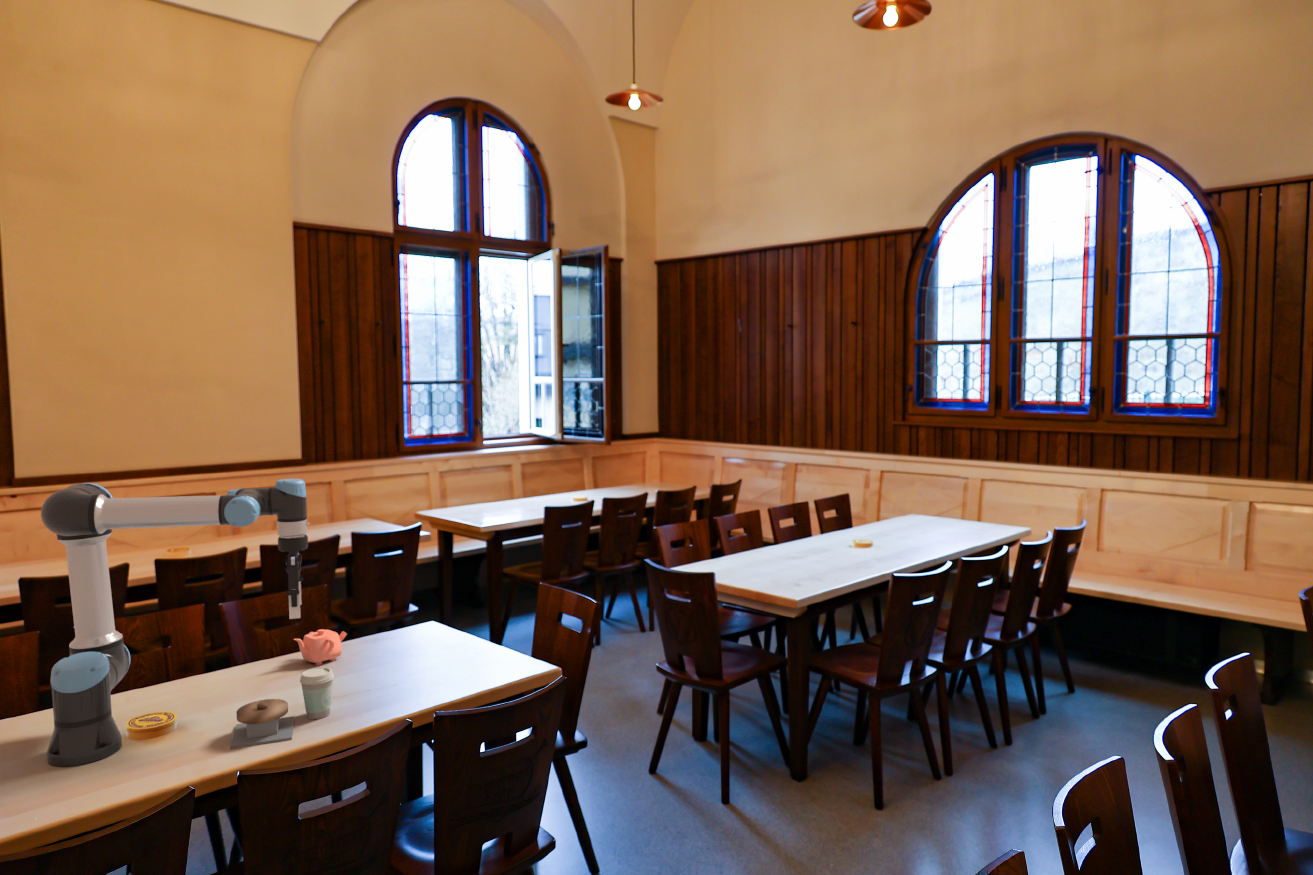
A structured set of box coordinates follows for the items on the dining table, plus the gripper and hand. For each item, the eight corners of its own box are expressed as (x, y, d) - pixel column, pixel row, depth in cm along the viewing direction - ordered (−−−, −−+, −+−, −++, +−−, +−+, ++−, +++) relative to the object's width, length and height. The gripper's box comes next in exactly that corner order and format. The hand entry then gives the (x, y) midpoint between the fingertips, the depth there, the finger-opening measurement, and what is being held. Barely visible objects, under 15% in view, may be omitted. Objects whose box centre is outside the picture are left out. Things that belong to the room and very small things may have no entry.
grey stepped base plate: (230, 748, 206) (229, 729, 206) (236, 726, 219) (235, 707, 219) (291, 739, 211) (290, 720, 211) (294, 718, 224) (293, 700, 224)
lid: (234, 726, 207) (233, 716, 207) (239, 708, 218) (238, 698, 218) (286, 719, 211) (286, 708, 211) (289, 702, 223) (289, 691, 222)
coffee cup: (323, 722, 221) (321, 678, 220) (294, 720, 223) (292, 676, 222) (341, 709, 230) (340, 667, 229) (313, 707, 231) (312, 665, 230)
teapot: (313, 653, 277) (312, 623, 276) (348, 652, 276) (347, 622, 276) (294, 668, 262) (292, 637, 261) (331, 668, 262) (330, 636, 261)
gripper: (306, 542, 218) (309, 622, 220) (308, 526, 241) (310, 598, 243) (275, 545, 216) (278, 625, 217) (279, 528, 239) (282, 601, 240)
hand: (295, 611), depth 230 cm, fingers open, 13 cm apart
